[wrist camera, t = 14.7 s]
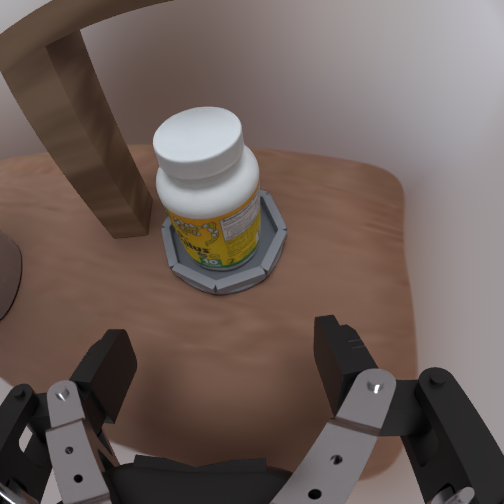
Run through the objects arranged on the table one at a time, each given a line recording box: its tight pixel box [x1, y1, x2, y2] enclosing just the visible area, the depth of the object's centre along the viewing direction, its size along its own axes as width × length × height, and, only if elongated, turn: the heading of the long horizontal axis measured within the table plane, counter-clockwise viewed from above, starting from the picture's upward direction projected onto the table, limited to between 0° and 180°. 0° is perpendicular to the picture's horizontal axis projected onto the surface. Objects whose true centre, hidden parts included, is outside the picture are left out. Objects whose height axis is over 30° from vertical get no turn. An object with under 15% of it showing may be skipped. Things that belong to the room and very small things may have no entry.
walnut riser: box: [0, 0, 172, 238], centre depth 14 cm, size 4×13×18 cm, turn 95°
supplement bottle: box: [153, 107, 261, 271], centre depth 16 cm, size 5×5×10 cm
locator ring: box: [161, 189, 287, 295], centre depth 20 cm, size 8×8×2 cm
